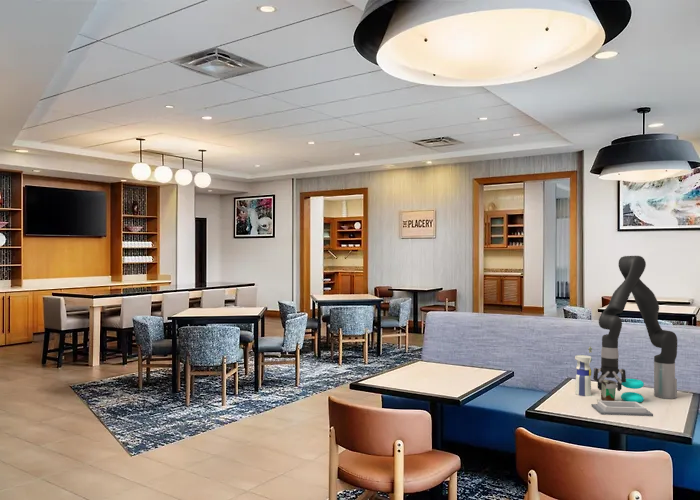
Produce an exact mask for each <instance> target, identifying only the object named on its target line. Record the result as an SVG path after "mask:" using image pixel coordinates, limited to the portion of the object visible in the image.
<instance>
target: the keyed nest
mask: <svg viewBox="0 0 700 500" xmlns="http://www.w3.org/2000/svg"><path fill="white" fill-rule="evenodd" d="M590 406H591V407H592V408H593V409H594V410H595V411H596V412H598V413H599V414H600V415H604V416H605V415H606V416H633V417H635V416H637V417H638V416H639V417H654V413H652V412H651V411H650V410H649V409H647V408H646V407H645V406H644V405H642V404H641V403H638V402H627V401H624V400H623V401H621V400H620V401H619V400H615V401H602V400H597V403H591V405H590Z"/></svg>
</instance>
